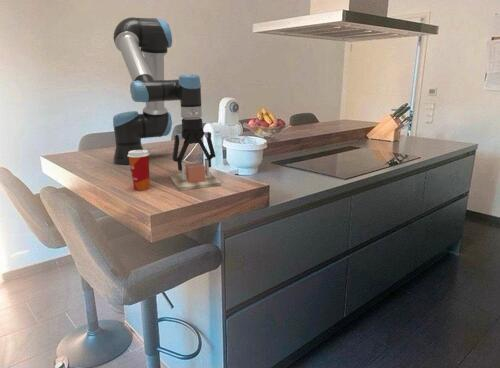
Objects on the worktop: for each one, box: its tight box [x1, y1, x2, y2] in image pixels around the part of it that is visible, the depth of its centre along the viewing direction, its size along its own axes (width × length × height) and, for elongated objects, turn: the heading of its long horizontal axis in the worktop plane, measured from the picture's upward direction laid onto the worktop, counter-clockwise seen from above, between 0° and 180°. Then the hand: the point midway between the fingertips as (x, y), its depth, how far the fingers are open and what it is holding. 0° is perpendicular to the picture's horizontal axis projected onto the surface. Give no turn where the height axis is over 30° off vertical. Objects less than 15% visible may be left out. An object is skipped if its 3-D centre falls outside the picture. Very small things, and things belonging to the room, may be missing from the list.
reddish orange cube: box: [184, 162, 205, 183], centre depth 143 cm, size 6×6×6 cm
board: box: [168, 171, 222, 192], centre depth 146 cm, size 16×20×6 cm
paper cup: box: [128, 149, 151, 191], centre depth 137 cm, size 8×8×14 cm
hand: (195, 177), depth 144 cm, fingers open, 9 cm apart
